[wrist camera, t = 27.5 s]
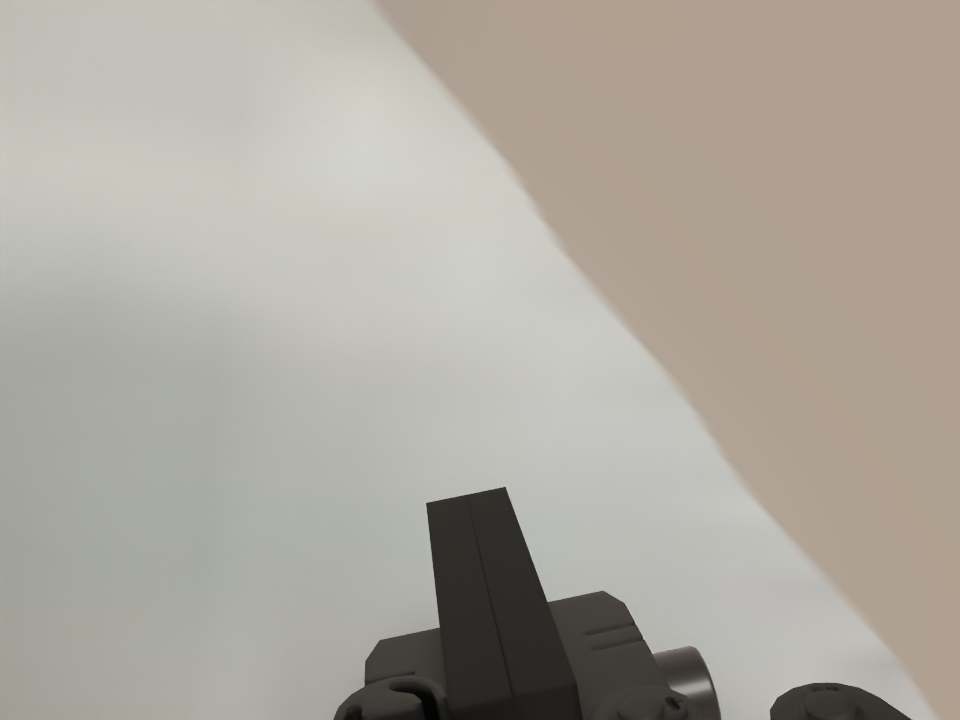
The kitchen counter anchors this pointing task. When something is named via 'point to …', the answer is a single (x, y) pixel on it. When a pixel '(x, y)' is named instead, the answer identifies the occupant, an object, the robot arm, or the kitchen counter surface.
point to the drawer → (690, 678)
